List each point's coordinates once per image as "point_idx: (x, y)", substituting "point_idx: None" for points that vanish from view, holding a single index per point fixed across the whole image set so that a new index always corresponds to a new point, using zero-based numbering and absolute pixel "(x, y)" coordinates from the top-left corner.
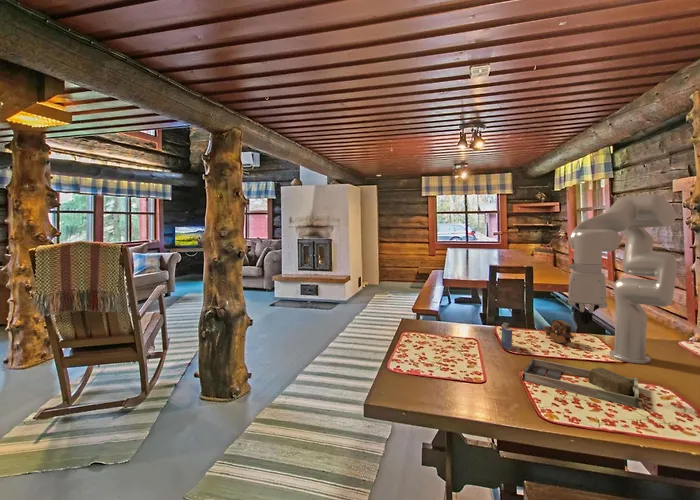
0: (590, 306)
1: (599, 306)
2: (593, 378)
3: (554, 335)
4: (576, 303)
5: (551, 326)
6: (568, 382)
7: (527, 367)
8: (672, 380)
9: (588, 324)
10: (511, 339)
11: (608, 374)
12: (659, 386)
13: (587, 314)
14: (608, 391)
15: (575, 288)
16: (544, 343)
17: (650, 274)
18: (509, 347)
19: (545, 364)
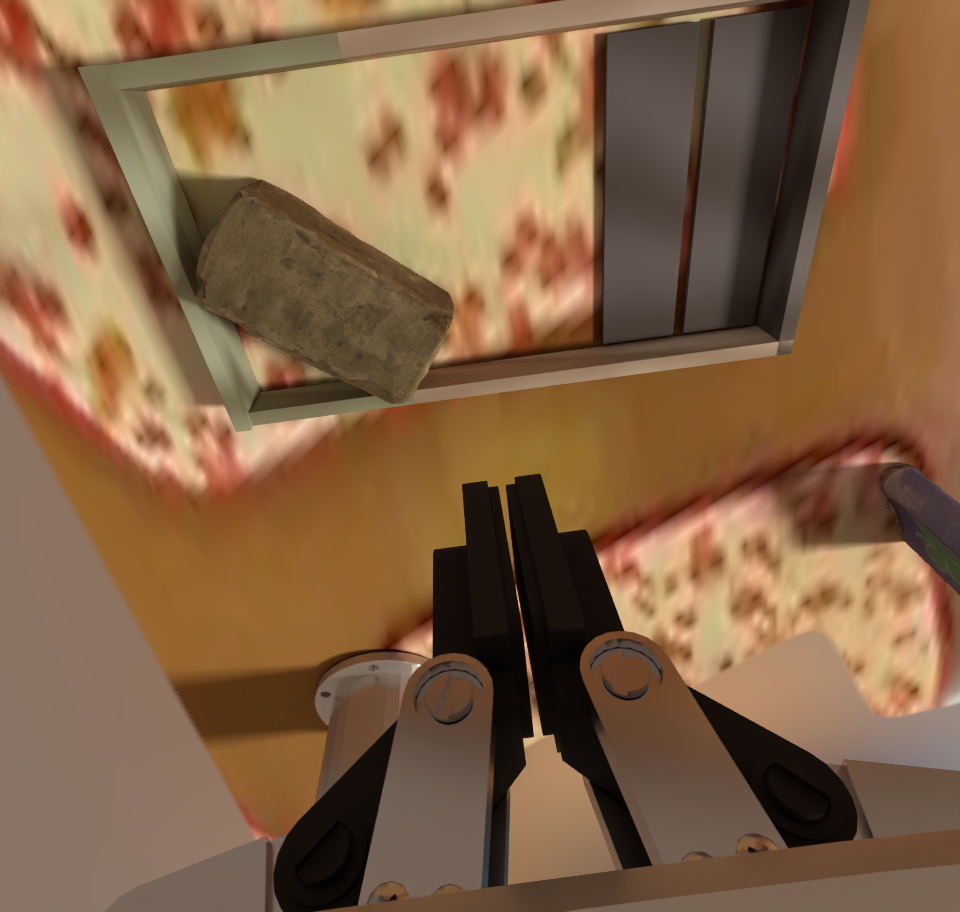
0: (463, 819)
1: (271, 892)
2: (421, 285)
3: None
4: (834, 840)
5: None
6: (531, 28)
7: (830, 138)
8: (189, 579)
9: (472, 483)
10: (933, 517)
11: (331, 304)
12: (192, 483)
13: (504, 602)
14: (270, 65)
15: None
16: (715, 649)
17: None
18: (907, 476)
19: (703, 343)
